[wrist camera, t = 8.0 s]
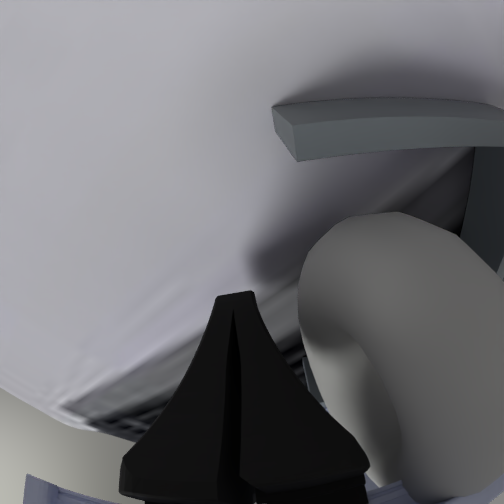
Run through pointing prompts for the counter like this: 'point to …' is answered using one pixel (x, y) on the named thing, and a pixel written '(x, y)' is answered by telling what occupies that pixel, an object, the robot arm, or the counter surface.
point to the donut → (409, 351)
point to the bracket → (409, 137)
